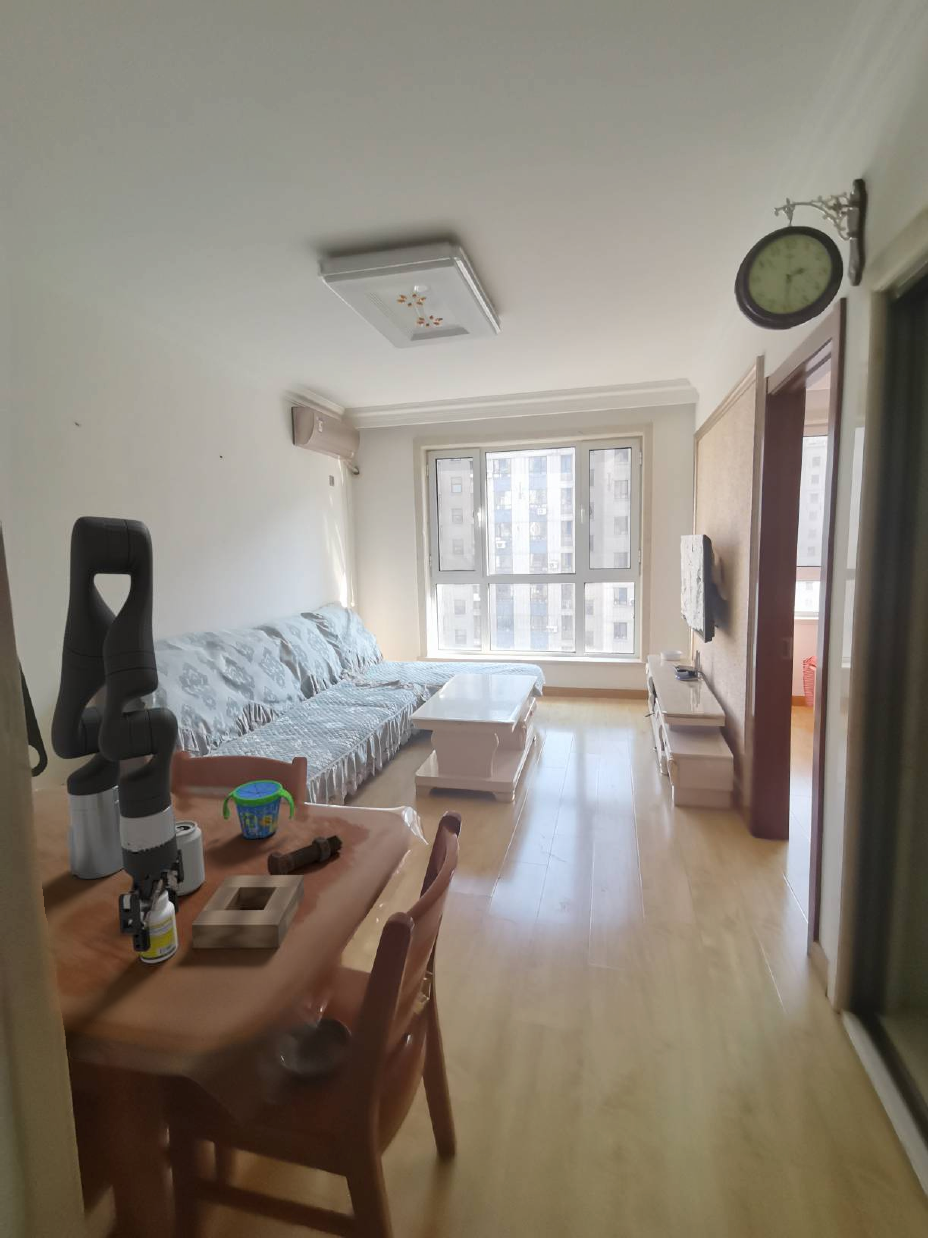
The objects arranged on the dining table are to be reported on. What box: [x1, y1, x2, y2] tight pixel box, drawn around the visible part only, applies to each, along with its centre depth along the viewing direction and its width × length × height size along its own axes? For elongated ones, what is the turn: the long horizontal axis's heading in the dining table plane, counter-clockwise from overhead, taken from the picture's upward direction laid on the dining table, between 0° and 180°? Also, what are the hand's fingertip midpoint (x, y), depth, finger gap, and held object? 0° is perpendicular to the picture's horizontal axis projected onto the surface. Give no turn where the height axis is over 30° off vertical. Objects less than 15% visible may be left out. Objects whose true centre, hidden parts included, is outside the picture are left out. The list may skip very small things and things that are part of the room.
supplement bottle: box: [139, 890, 179, 964], centre depth 92 cm, size 5×5×10 cm
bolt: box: [267, 834, 343, 875], centre depth 117 cm, size 6×5×15 cm
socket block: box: [190, 874, 305, 949], centre depth 100 cm, size 14×14×4 cm
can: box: [172, 820, 206, 897], centre depth 110 cm, size 8×8×12 cm
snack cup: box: [222, 780, 295, 839], centre depth 131 cm, size 16×10×10 cm
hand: (157, 931), depth 92 cm, fingers open, 8 cm apart
